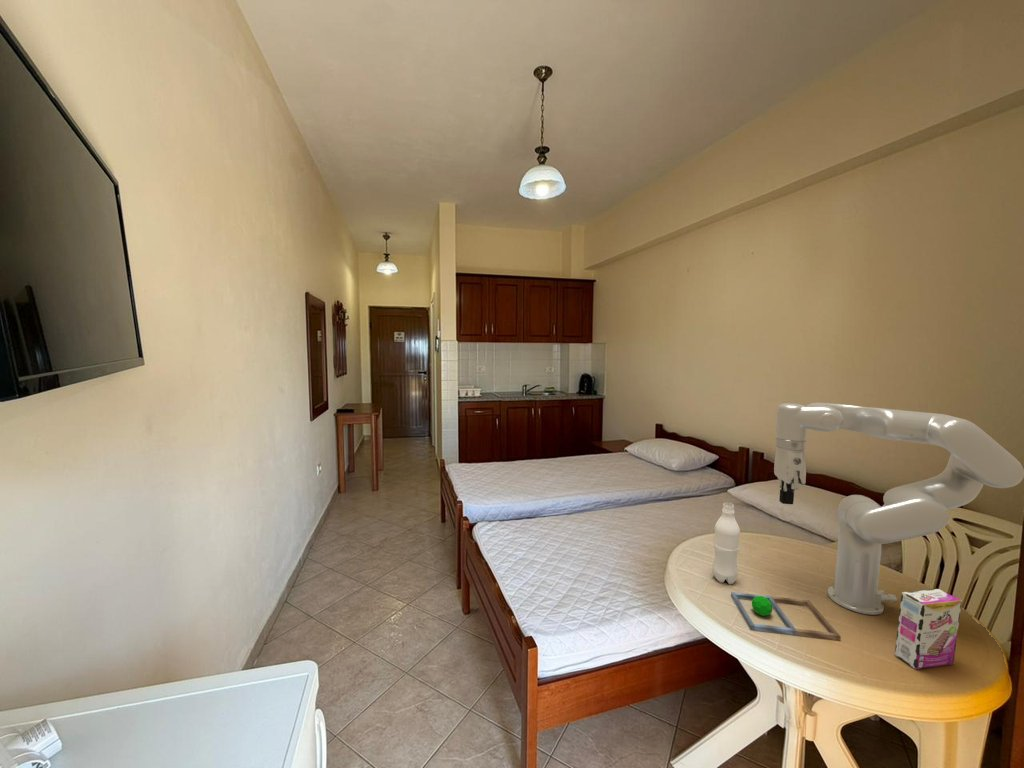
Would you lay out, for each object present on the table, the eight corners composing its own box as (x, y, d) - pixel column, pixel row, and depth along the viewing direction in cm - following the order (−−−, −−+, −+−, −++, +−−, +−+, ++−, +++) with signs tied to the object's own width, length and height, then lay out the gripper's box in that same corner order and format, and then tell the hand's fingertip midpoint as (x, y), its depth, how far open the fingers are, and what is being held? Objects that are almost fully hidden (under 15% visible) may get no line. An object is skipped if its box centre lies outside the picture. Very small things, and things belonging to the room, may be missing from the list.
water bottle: (735, 588, 125) (739, 510, 123) (709, 580, 129) (713, 505, 127) (738, 578, 131) (743, 503, 128) (714, 571, 135) (718, 498, 133)
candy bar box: (917, 671, 93) (923, 604, 92) (893, 655, 98) (899, 591, 97) (956, 665, 95) (963, 599, 93) (931, 650, 100) (937, 587, 98)
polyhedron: (752, 605, 117) (753, 590, 116) (773, 612, 114) (774, 596, 113) (749, 614, 113) (750, 598, 113) (770, 622, 110) (771, 605, 109)
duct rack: (808, 604, 118) (809, 600, 117) (840, 640, 103) (840, 636, 103) (730, 595, 121) (731, 592, 121) (750, 629, 107) (750, 625, 107)
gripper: (817, 451, 114) (813, 513, 116) (791, 439, 129) (787, 495, 130) (788, 449, 116) (784, 511, 117) (765, 438, 130) (762, 493, 132)
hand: (786, 502), depth 124 cm, fingers closed
